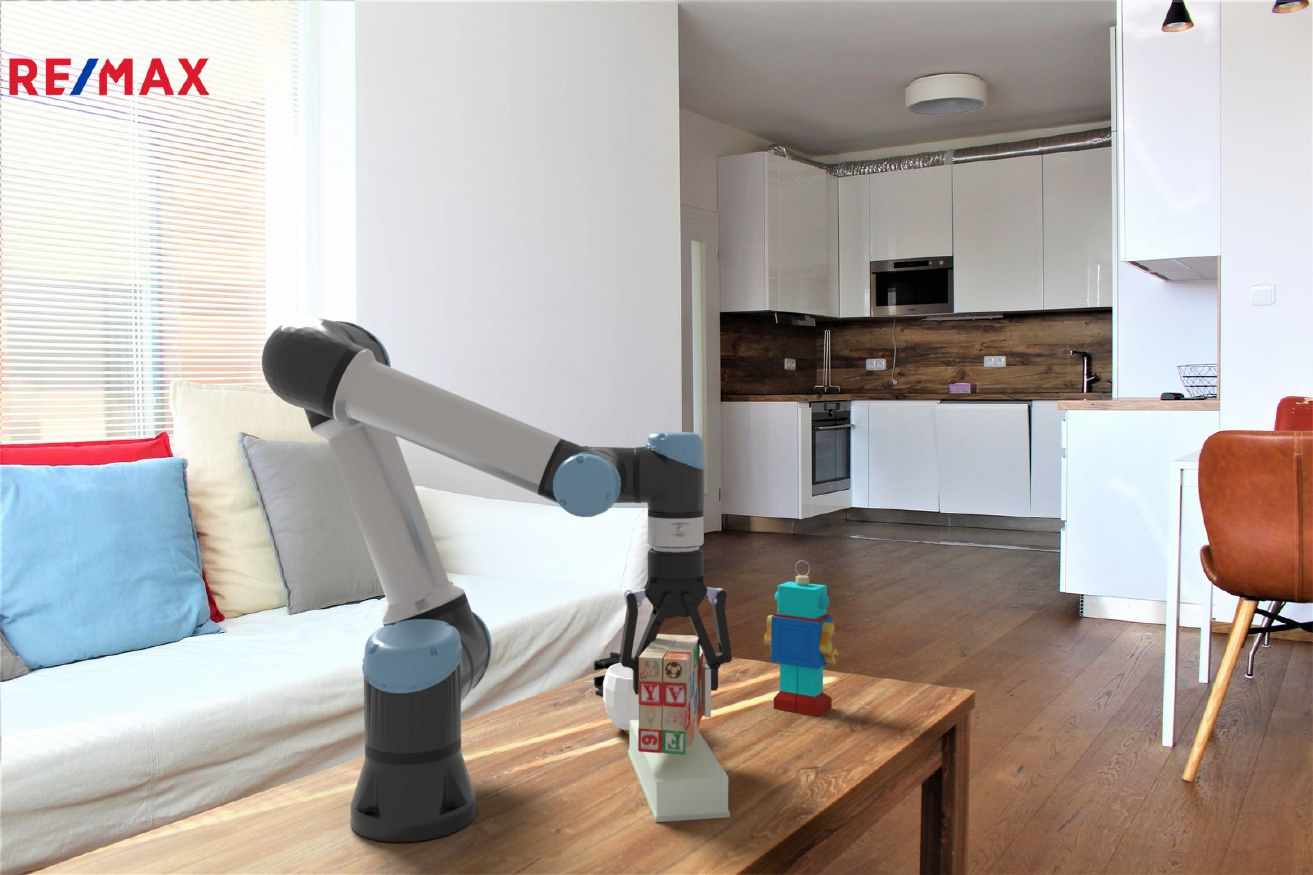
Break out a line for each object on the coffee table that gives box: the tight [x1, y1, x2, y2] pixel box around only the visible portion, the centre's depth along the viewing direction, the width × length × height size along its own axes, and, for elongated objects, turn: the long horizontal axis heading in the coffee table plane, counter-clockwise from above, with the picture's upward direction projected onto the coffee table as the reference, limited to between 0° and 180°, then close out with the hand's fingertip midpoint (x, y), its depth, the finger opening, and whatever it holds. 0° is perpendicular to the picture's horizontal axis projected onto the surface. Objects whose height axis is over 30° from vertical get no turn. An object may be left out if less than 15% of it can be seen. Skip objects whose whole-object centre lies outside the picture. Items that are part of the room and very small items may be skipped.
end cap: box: [593, 651, 621, 698], centre depth 179 cm, size 10×7×7 cm
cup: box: [602, 663, 639, 735], centre depth 161 cm, size 12×12×10 cm
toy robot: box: [763, 560, 839, 717], centre depth 172 cm, size 12×6×25 cm, turn 58°
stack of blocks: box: [638, 633, 707, 755], centre depth 139 cm, size 21×6×12 cm, turn 170°
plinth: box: [627, 720, 731, 823], centre depth 139 cm, size 9×24×5 cm, turn 9°
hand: (675, 715), depth 139 cm, fingers closed on stack of blocks, 8 cm apart
